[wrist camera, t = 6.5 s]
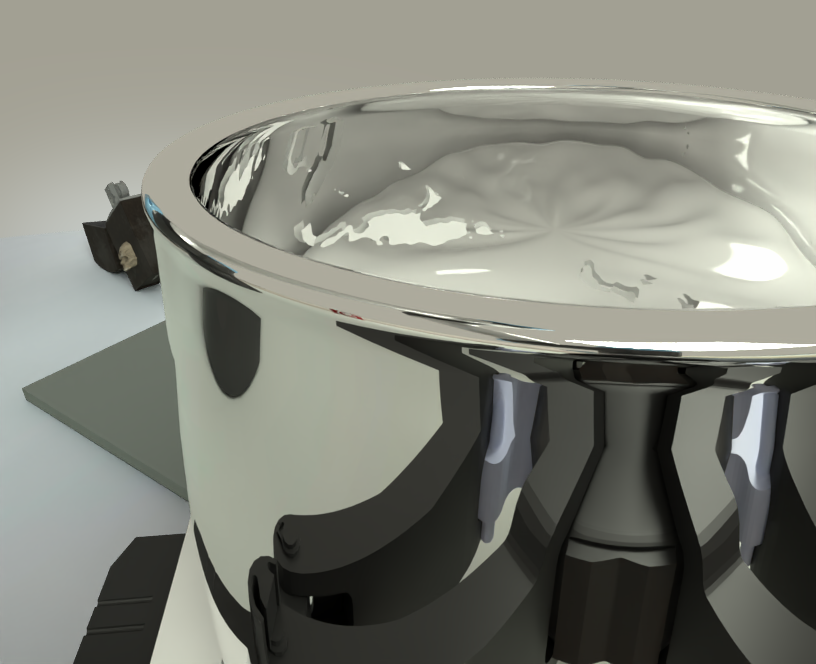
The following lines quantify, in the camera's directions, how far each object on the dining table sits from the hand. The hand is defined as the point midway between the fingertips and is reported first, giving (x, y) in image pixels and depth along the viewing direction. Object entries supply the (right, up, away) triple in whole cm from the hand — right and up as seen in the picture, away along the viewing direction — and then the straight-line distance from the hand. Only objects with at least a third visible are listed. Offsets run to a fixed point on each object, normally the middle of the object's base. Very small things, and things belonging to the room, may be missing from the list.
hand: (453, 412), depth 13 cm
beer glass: (+1, -10, 0) cm, 10 cm away
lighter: (-18, +4, +26) cm, 32 cm away
